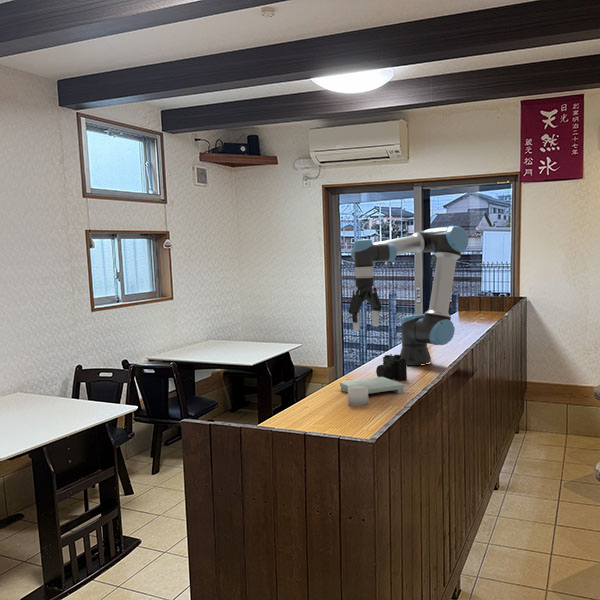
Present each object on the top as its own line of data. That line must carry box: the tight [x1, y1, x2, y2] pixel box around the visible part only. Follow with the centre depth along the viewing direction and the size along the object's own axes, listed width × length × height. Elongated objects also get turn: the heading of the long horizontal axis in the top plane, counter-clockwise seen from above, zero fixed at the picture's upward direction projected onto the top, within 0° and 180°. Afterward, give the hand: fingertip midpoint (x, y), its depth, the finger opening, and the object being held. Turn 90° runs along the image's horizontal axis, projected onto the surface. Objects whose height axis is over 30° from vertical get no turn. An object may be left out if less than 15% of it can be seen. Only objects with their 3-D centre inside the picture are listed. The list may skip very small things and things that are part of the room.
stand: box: [339, 376, 406, 395], centre depth 213 cm, size 19×16×3 cm
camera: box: [375, 353, 408, 382], centre depth 233 cm, size 14×11×10 cm
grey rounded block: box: [347, 384, 369, 407], centre depth 196 cm, size 7×7×6 cm
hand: (366, 328), depth 232 cm, fingers open, 13 cm apart
